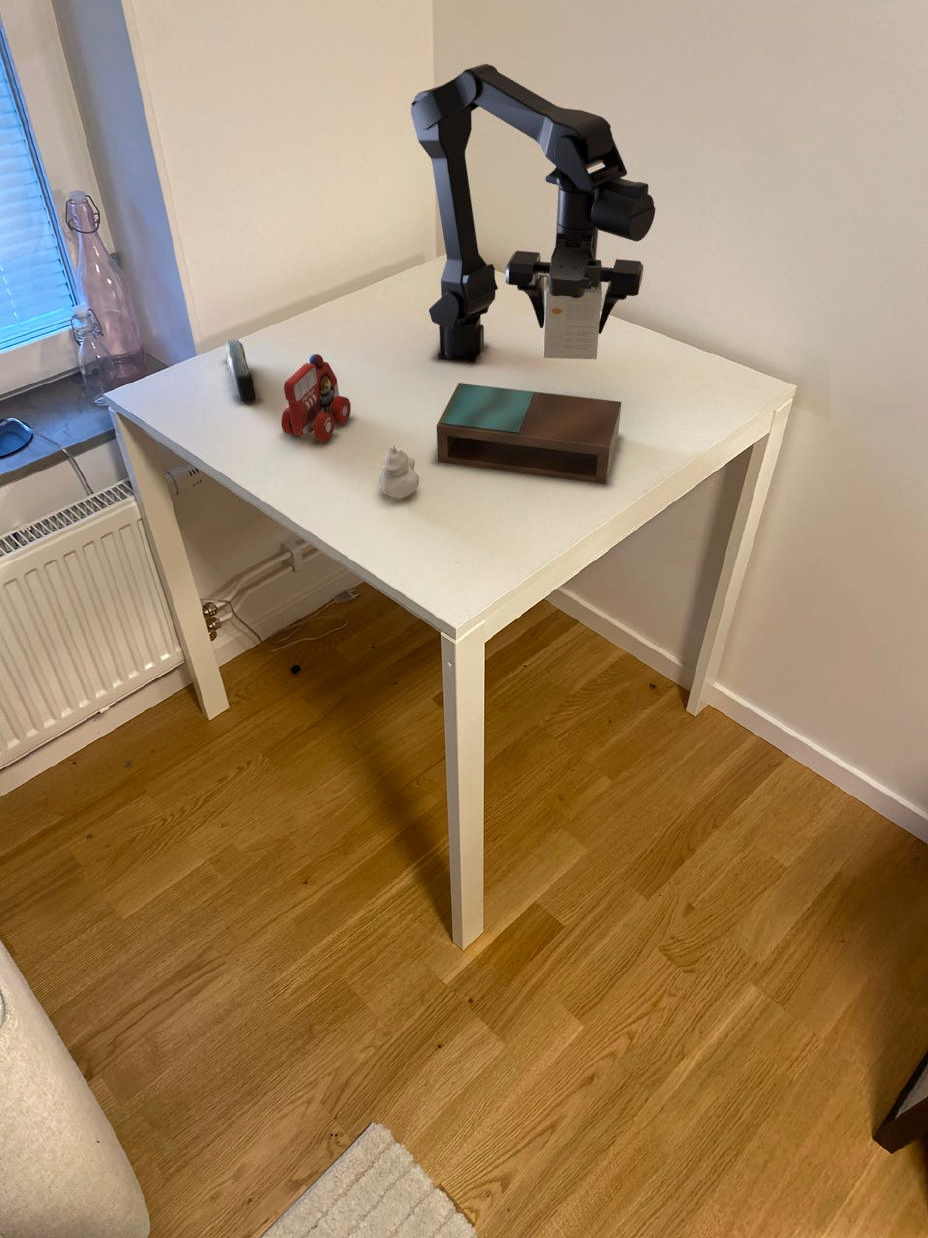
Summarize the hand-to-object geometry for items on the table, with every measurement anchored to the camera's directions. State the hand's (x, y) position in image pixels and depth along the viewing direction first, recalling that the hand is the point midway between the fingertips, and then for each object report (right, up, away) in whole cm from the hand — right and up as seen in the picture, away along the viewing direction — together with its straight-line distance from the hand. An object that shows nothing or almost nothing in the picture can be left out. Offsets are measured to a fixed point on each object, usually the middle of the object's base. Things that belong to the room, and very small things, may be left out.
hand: (570, 329), depth 137 cm
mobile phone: (-52, -4, +13) cm, 53 cm away
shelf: (-6, -18, -2) cm, 19 cm away
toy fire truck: (-38, -14, +3) cm, 40 cm away
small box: (0, -3, +2) cm, 4 cm away
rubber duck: (-24, -25, -9) cm, 36 cm away
